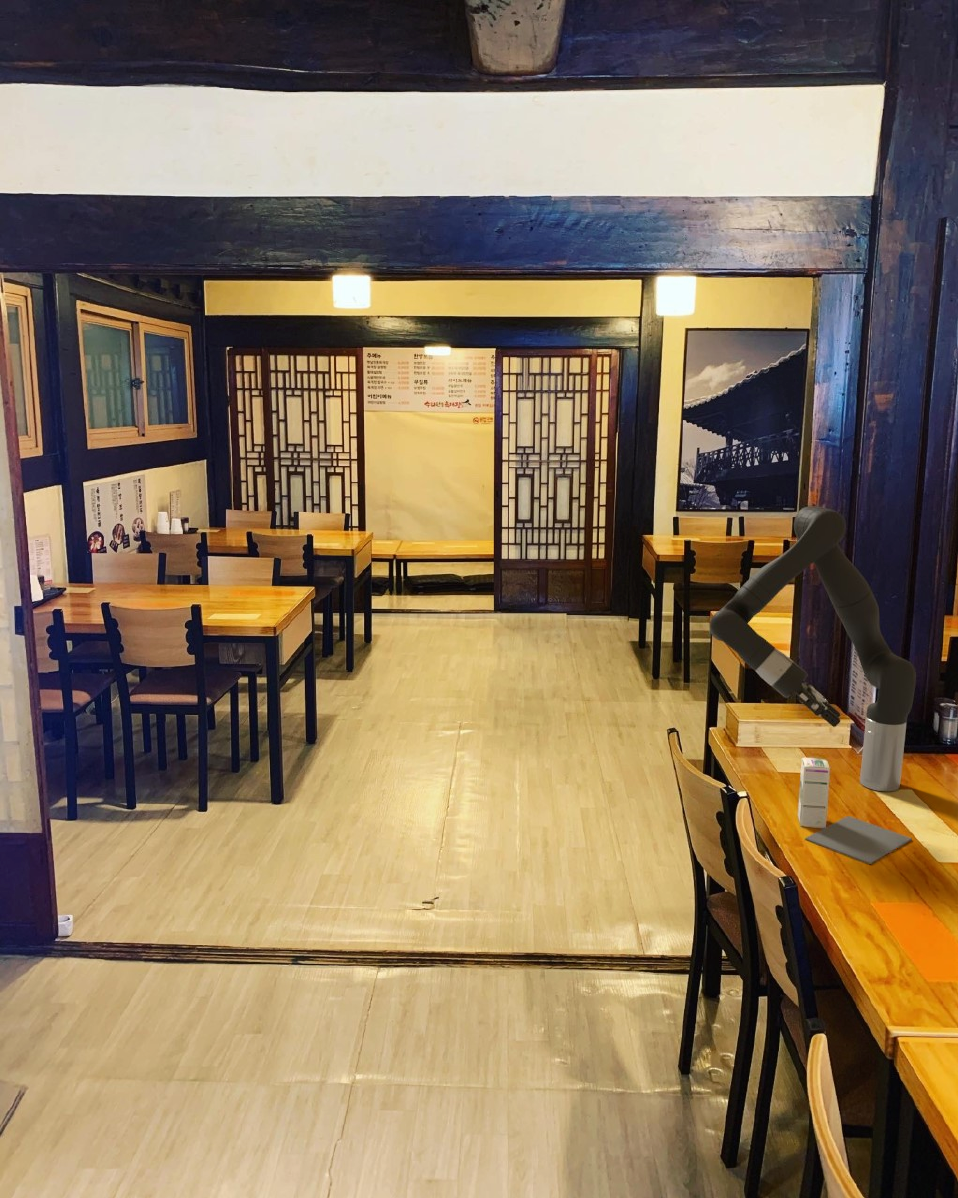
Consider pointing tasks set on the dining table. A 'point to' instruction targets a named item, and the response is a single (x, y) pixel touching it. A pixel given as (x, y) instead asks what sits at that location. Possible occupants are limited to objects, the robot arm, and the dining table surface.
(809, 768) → the syrup box
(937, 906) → the dining table surface
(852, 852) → the mat
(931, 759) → the dining table surface
